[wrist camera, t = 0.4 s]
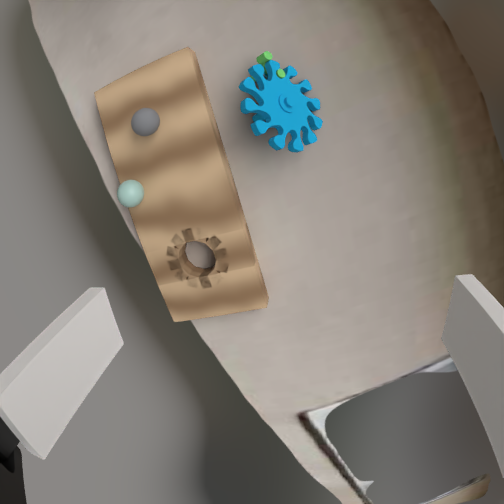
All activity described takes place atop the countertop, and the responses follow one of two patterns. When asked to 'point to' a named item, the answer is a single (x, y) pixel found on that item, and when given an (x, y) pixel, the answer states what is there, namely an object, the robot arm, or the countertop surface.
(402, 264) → the countertop surface
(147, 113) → the grey ball
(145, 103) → the board
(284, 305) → the countertop surface
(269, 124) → the gear
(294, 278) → the countertop surface
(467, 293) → the robot arm
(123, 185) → the teal ball
